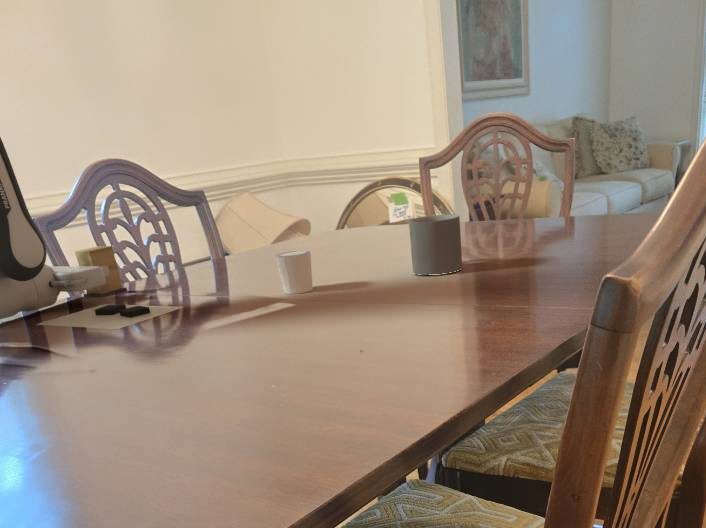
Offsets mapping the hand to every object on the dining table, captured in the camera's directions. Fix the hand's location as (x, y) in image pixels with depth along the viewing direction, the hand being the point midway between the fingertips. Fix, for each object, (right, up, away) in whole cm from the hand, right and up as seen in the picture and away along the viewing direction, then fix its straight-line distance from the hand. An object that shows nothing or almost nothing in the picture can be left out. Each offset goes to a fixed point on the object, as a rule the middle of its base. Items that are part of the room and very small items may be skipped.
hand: (91, 270), depth 160 cm
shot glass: (+44, -7, -9) cm, 46 cm away
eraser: (+1, -4, +4) cm, 6 cm away
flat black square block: (+16, -15, -20) cm, 30 cm away
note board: (+11, -16, -18) cm, 26 cm away
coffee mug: (+72, -1, -3) cm, 72 cm away
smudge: (+10, -14, -16) cm, 23 cm away
